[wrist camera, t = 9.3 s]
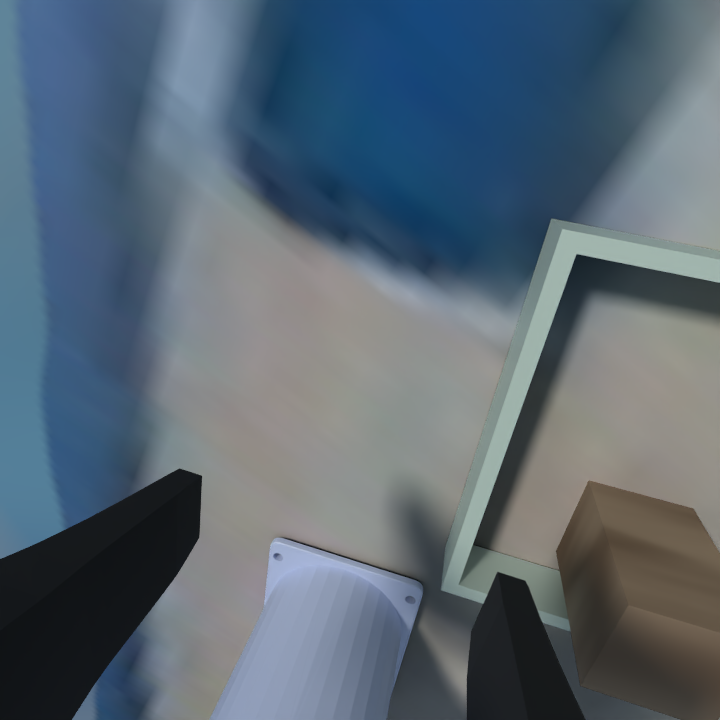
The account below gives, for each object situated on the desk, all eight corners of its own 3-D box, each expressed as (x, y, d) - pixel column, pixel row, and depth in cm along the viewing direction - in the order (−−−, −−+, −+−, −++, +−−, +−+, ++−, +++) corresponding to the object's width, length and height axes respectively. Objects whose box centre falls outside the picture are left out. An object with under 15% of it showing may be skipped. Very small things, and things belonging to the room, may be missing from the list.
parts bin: (748, 639, 20) (780, 698, 18) (445, 546, 22) (440, 590, 20) (1011, 307, 14) (1112, 335, 12) (551, 218, 16) (562, 229, 14)
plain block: (650, 578, 20) (709, 729, 15) (555, 550, 21) (580, 686, 16) (693, 508, 19) (776, 650, 13) (588, 480, 19) (628, 605, 14)
